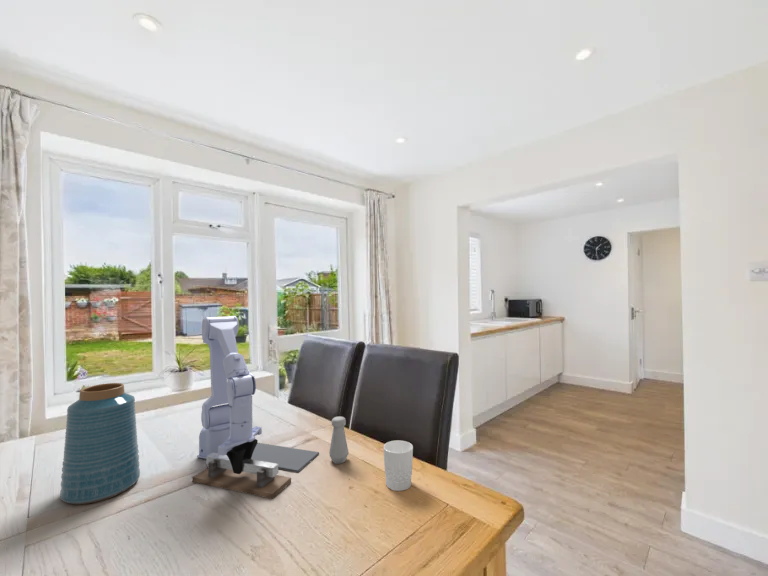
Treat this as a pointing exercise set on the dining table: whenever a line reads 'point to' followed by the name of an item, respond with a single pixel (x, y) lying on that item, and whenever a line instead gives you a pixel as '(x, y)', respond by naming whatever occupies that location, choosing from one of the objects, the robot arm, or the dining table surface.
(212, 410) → the robot arm
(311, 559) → the dining table surface
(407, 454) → the white cup
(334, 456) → the salt shaker
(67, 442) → the vase
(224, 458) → the rail
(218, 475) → the rack
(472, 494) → the dining table surface
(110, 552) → the dining table surface
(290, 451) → the mat
